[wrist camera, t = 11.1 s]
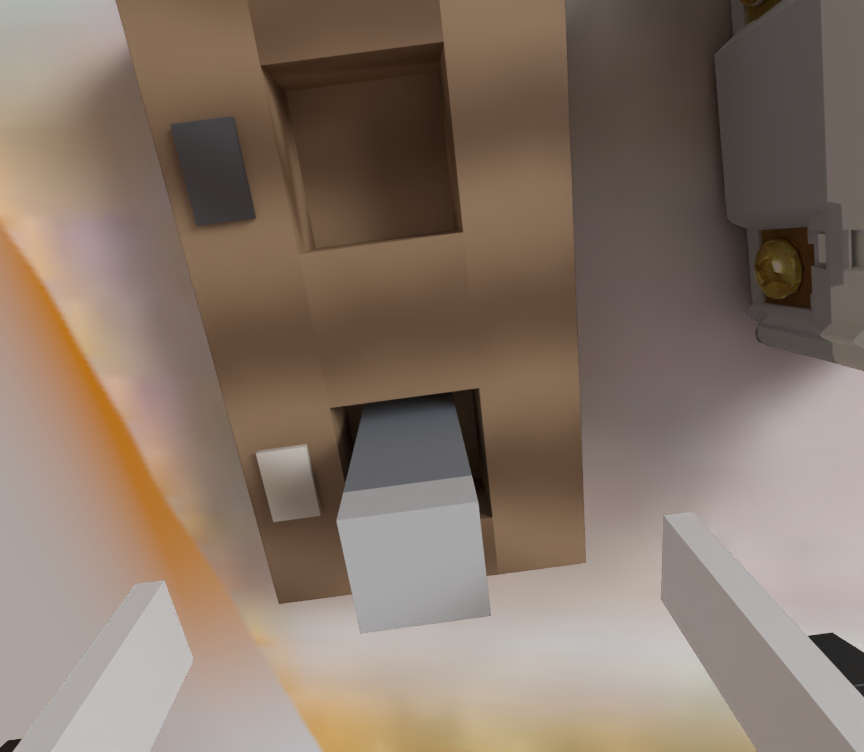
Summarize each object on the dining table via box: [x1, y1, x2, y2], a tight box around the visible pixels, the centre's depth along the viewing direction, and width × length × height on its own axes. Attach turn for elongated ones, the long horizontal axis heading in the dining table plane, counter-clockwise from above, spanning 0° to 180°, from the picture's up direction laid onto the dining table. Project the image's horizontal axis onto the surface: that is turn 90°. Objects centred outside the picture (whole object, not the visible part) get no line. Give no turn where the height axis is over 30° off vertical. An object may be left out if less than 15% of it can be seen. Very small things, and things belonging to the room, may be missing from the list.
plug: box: [336, 392, 491, 633], centre depth 19 cm, size 4×4×10 cm
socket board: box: [116, 0, 586, 604], centre depth 21 cm, size 24×14×4 cm, turn 7°
